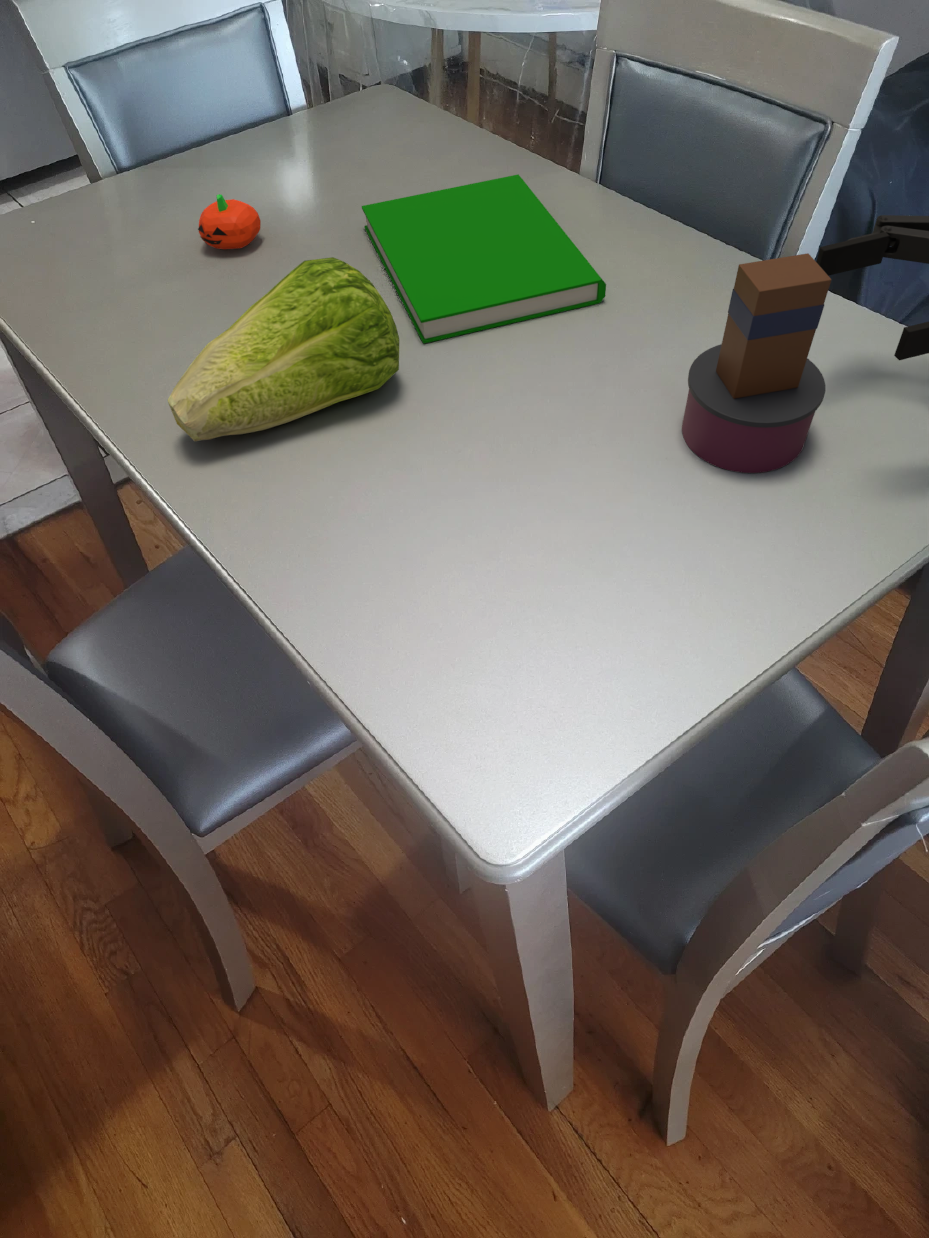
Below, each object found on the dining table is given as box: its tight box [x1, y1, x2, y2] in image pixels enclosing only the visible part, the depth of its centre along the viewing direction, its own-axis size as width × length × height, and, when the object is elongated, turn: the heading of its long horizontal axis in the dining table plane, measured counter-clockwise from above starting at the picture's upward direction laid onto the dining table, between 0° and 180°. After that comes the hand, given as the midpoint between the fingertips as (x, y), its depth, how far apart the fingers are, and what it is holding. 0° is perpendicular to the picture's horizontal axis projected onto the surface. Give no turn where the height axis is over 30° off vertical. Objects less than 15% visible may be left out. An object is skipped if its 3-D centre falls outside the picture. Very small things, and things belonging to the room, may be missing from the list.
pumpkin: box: [197, 193, 262, 250], centre depth 112 cm, size 7×8×6 cm
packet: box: [716, 252, 832, 399], centre depth 78 cm, size 6×4×11 cm
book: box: [361, 174, 607, 344], centre depth 108 cm, size 22×28×3 cm
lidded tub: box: [681, 343, 826, 474], centre depth 85 cm, size 13×13×6 cm
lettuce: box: [167, 256, 400, 442], centre depth 89 cm, size 14×24×14 cm
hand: (857, 301), depth 76 cm, fingers open, 13 cm apart
